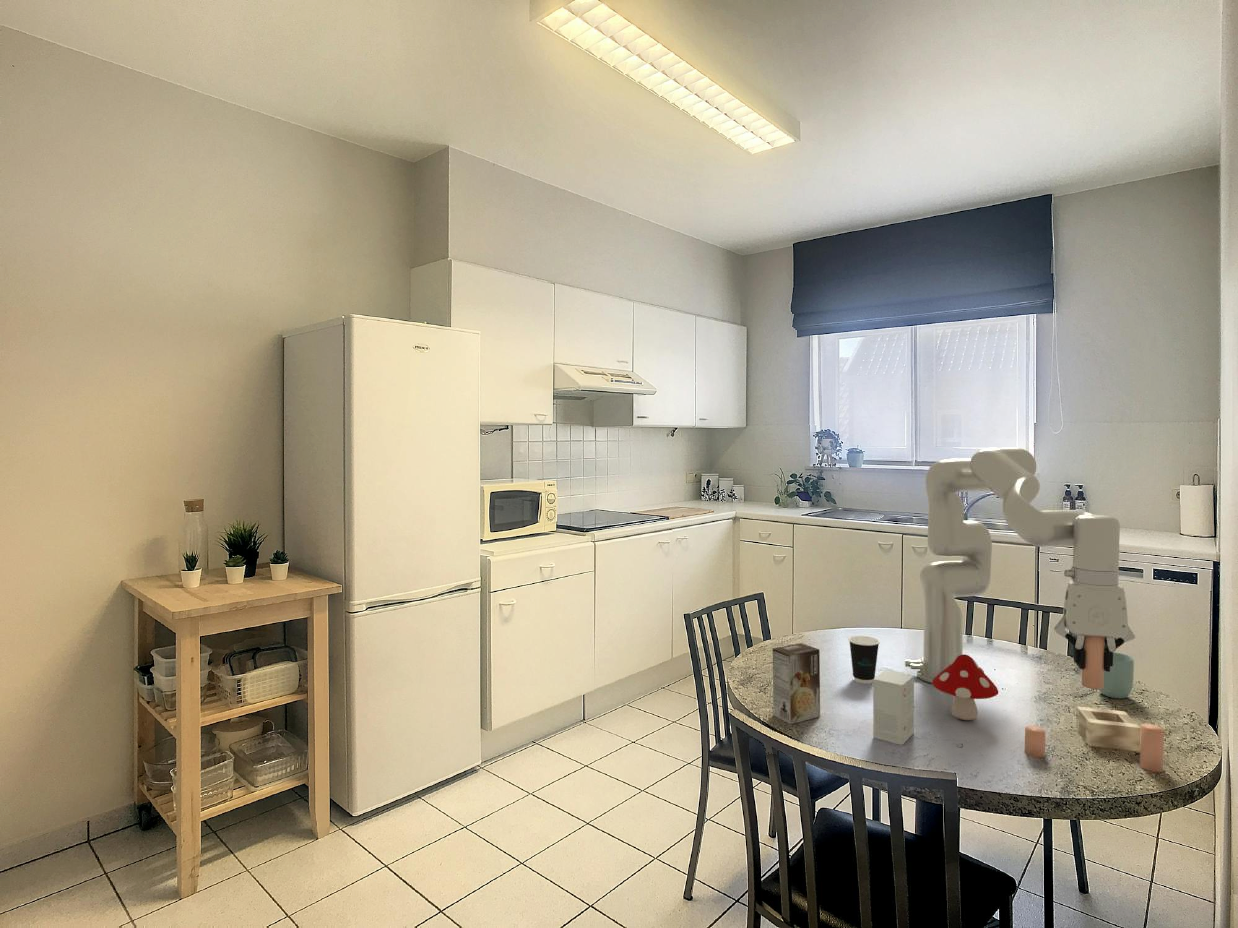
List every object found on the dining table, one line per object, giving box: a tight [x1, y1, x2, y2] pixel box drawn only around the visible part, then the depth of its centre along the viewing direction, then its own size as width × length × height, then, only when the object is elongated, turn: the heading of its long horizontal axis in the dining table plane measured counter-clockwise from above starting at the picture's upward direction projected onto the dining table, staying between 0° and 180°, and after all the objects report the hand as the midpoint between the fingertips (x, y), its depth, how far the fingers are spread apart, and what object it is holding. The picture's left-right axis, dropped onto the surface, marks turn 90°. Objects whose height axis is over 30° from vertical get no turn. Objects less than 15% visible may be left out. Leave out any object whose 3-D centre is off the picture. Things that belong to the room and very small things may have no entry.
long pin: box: [1081, 636, 1105, 690], centre depth 138 cm, size 4×4×12 cm
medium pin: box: [1139, 723, 1165, 773], centre depth 135 cm, size 4×4×8 cm
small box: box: [872, 669, 915, 746], centre depth 150 cm, size 8×6×13 cm
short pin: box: [1024, 725, 1046, 759], centre depth 142 cm, size 4×4×5 cm
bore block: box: [1075, 706, 1141, 753], centre depth 148 cm, size 9×9×5 cm
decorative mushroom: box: [931, 654, 999, 721], centre depth 159 cm, size 14×14×15 cm
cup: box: [1097, 651, 1135, 699], centre depth 172 cm, size 8×8×10 cm
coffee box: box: [772, 642, 821, 725], centre depth 161 cm, size 9×6×16 cm
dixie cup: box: [848, 635, 881, 685], centre depth 184 cm, size 8×8×11 cm
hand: (1092, 667), depth 138 cm, fingers closed on long pin, 3 cm apart
